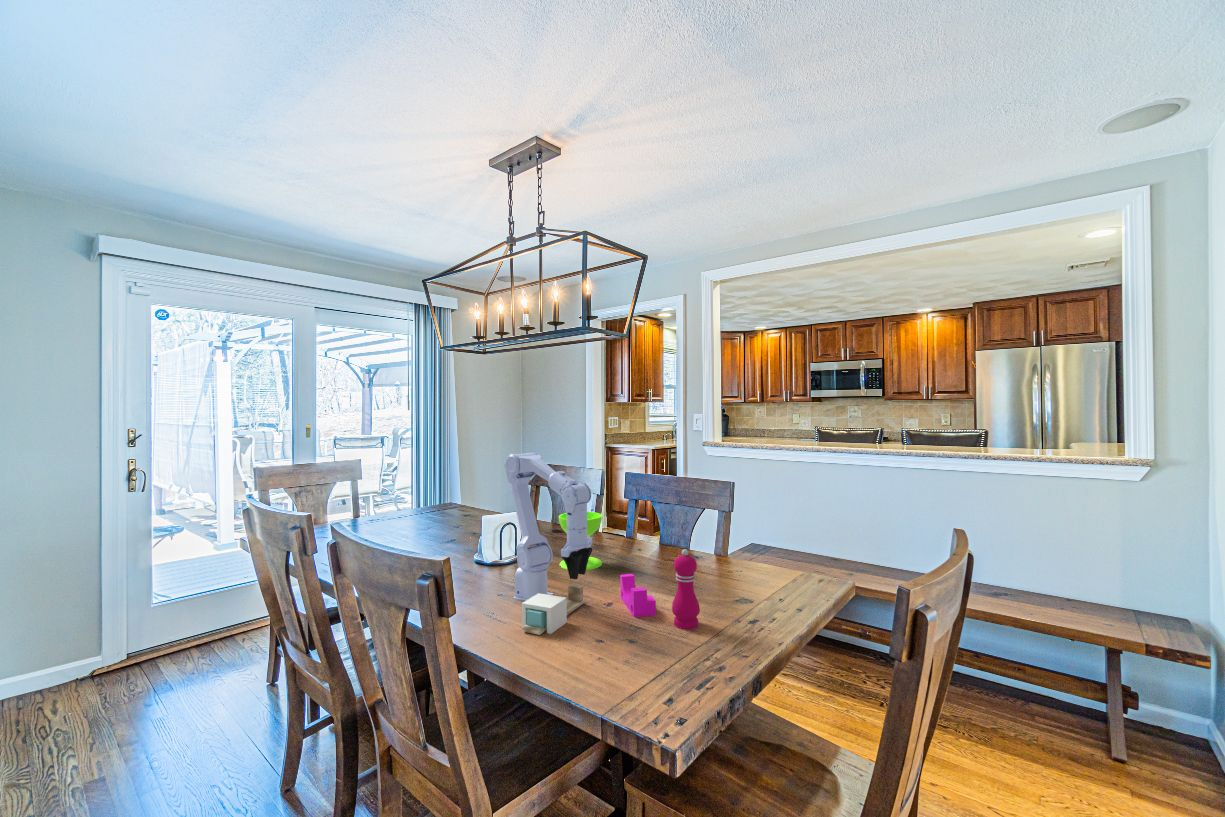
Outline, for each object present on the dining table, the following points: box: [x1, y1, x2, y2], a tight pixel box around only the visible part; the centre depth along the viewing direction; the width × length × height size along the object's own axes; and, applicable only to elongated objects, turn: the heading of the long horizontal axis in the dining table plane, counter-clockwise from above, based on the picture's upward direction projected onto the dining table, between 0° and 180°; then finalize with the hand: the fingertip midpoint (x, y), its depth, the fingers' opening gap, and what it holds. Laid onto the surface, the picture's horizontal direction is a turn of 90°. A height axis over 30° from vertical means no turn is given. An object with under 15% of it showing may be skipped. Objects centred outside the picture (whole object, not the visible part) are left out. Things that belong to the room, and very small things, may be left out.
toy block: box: [619, 573, 657, 618], centre depth 152 cm, size 15×6×8 cm, turn 13°
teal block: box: [527, 609, 547, 630], centre depth 136 cm, size 4×4×4 cm
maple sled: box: [523, 584, 586, 636], centre depth 144 cm, size 5×24×5 cm, turn 155°
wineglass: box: [558, 511, 603, 571], centre depth 194 cm, size 16×16×18 cm
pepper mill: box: [671, 548, 701, 631], centre depth 138 cm, size 7×7×20 cm
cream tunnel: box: [521, 593, 568, 635], centre depth 139 cm, size 9×8×7 cm
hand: (577, 576), depth 147 cm, fingers open, 4 cm apart
